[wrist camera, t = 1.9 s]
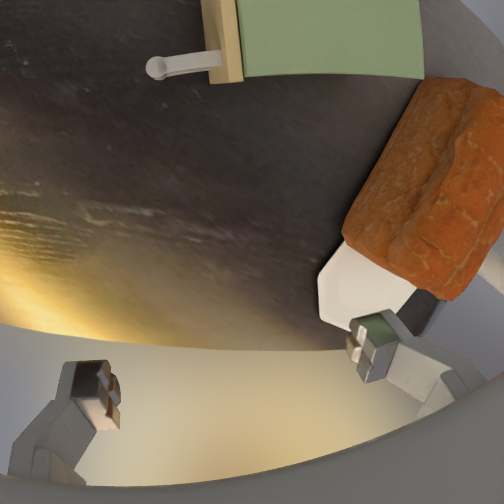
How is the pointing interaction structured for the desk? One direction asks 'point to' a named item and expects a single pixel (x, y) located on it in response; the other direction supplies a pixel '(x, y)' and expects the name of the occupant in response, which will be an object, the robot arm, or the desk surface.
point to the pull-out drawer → (209, 48)
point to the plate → (357, 288)
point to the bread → (435, 189)
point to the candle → (493, 270)
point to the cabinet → (331, 37)
